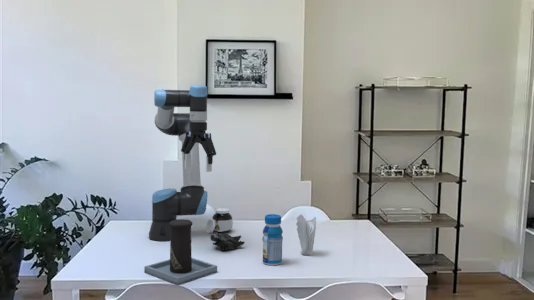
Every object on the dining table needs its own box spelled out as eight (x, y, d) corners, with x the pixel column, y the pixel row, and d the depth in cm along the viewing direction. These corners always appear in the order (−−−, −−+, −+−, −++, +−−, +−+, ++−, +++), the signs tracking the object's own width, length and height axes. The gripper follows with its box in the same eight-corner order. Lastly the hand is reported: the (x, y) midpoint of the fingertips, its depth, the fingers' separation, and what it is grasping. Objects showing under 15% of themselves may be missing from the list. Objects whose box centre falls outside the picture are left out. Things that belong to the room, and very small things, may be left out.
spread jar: (234, 231, 268) (234, 209, 267) (221, 236, 259) (221, 213, 258) (216, 228, 275) (216, 206, 274) (202, 232, 265) (202, 210, 264)
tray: (144, 272, 204) (144, 266, 204) (184, 261, 219) (184, 255, 219) (177, 285, 191) (177, 278, 191) (217, 272, 206) (217, 265, 206)
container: (170, 266, 209) (170, 217, 207) (193, 266, 210) (193, 217, 208) (168, 274, 200) (168, 222, 198) (191, 273, 201) (192, 222, 199)
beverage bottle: (275, 267, 213) (276, 219, 211) (258, 263, 217) (258, 216, 215) (286, 261, 220) (286, 215, 218) (268, 258, 225) (269, 212, 223)
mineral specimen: (230, 244, 227) (225, 222, 232) (207, 254, 232) (202, 233, 237) (249, 248, 239) (243, 227, 244) (227, 258, 244) (222, 237, 249)
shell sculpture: (317, 252, 234) (318, 213, 233) (313, 257, 227) (314, 216, 225) (300, 250, 237) (300, 211, 235) (294, 255, 229) (295, 215, 228)
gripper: (173, 120, 232) (173, 167, 234) (211, 122, 216) (211, 173, 218) (186, 120, 238) (186, 166, 240) (224, 122, 222) (224, 172, 224)
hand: (198, 170), depth 229 cm, fingers open, 13 cm apart
